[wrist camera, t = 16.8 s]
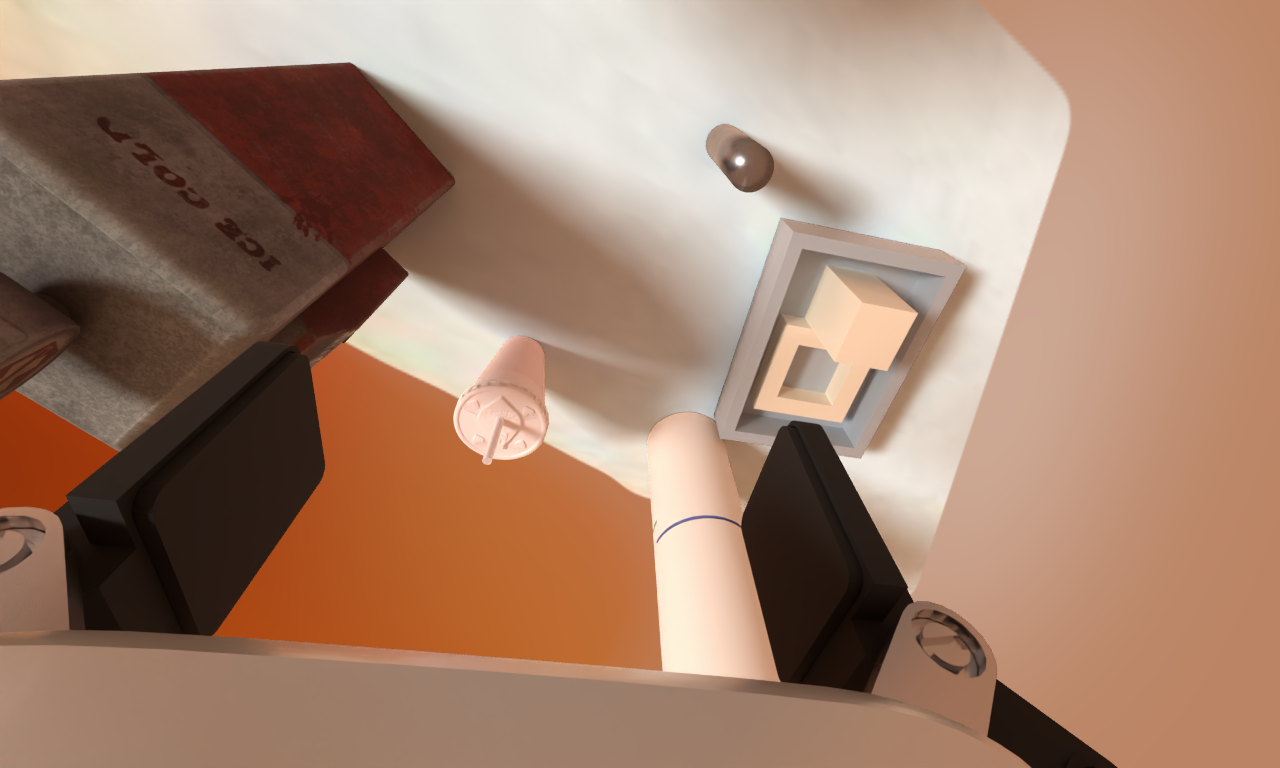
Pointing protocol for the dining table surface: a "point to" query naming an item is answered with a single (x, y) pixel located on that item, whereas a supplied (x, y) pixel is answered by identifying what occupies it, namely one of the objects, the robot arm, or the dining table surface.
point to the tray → (790, 291)
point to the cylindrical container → (702, 556)
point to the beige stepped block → (834, 343)
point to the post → (740, 158)
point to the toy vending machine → (192, 228)
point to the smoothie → (506, 404)
